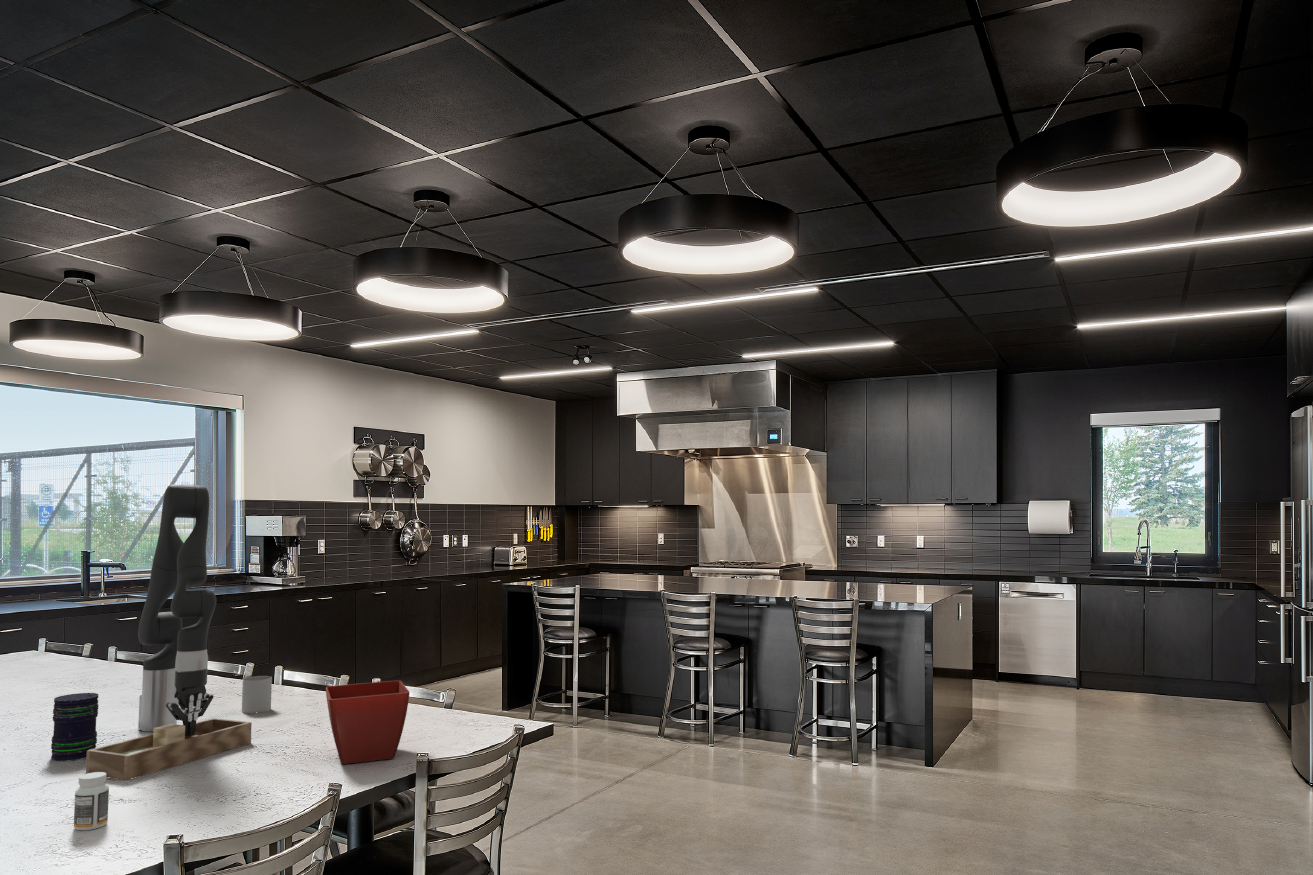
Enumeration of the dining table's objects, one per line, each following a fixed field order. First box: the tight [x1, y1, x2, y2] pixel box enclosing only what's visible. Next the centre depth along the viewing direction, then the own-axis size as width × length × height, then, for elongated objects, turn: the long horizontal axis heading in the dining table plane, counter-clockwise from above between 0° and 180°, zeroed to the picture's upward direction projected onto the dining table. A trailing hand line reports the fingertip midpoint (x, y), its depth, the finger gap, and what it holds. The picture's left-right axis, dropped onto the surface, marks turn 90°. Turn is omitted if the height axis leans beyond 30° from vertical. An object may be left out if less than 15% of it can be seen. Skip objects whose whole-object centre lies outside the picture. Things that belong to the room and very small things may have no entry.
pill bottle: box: [73, 772, 110, 831], centre depth 175 cm, size 6×6×10 cm
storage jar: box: [50, 692, 99, 762], centre depth 228 cm, size 10×10×15 cm
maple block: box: [152, 724, 185, 748], centre depth 224 cm, size 5×5×5 cm
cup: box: [241, 675, 273, 714], centre depth 279 cm, size 8×8×10 cm
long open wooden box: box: [85, 717, 252, 781], centre depth 225 cm, size 36×14×6 cm, turn 158°
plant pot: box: [325, 680, 410, 765], centre depth 226 cm, size 19×19×17 cm
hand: (189, 735), depth 229 cm, fingers closed
